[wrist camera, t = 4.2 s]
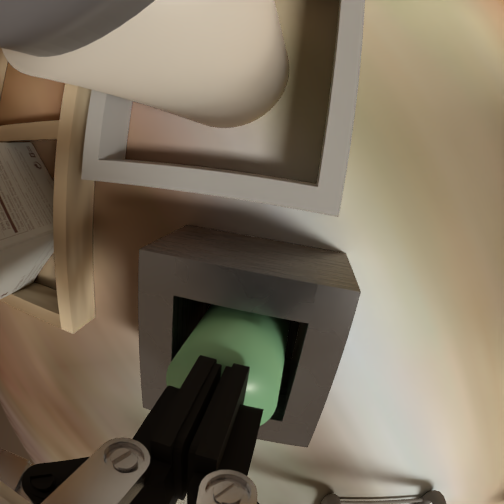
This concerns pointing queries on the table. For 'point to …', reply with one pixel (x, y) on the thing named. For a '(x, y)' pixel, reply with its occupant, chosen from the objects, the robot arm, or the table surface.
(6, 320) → the table surface
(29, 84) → the table surface
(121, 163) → the frame
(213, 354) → the button
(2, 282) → the supplement box
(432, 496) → the newton's cradle
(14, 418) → the table surface
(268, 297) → the grey square holder
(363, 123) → the table surface
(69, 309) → the wooden frame with crossbar
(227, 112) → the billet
